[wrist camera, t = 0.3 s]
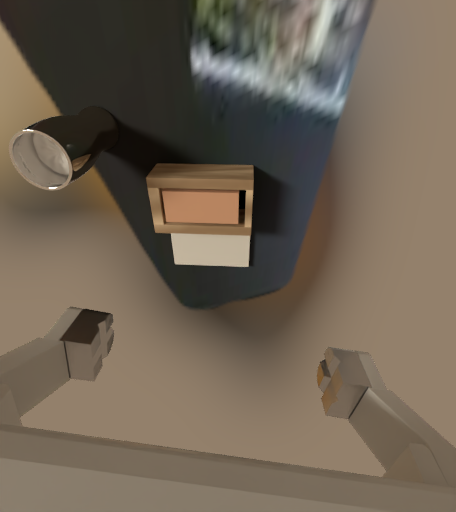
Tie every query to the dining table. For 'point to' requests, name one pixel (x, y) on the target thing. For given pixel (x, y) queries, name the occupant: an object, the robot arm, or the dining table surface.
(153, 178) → the pocket block
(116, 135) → the beer glass
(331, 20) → the dining table surface
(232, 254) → the mat
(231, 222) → the tile
